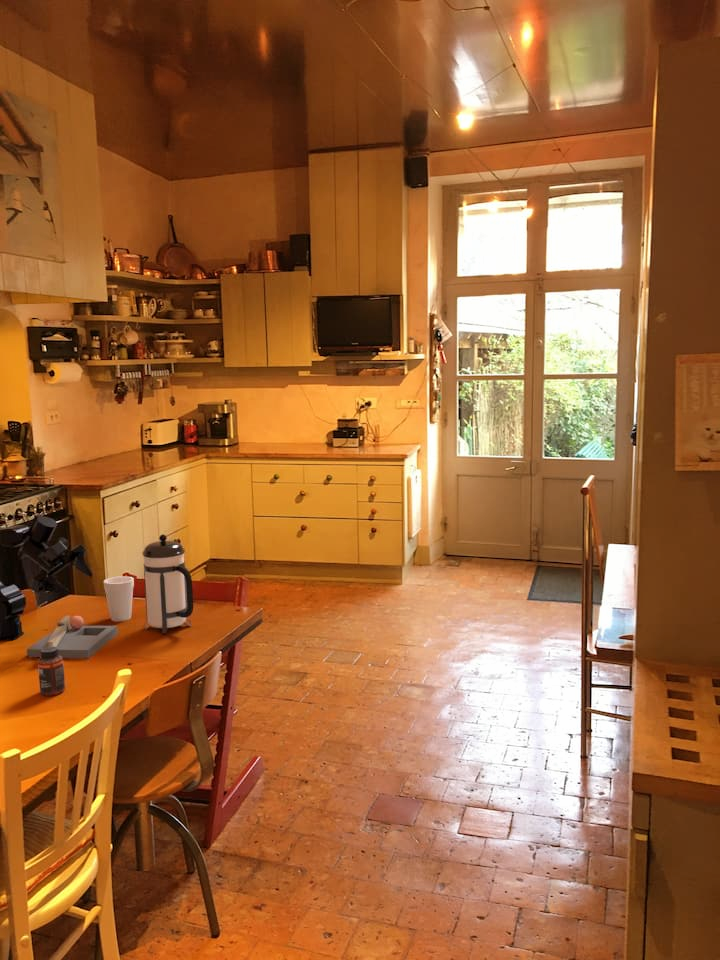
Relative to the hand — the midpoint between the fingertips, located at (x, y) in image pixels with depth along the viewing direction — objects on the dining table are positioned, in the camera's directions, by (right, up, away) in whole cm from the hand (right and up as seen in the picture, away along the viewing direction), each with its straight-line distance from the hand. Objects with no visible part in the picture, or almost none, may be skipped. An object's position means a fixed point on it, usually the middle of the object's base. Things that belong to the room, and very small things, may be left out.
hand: (81, 584), depth 226 cm
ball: (-5, -13, +9) cm, 16 cm away
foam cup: (+4, -15, +27) cm, 31 cm away
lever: (-6, -16, -1) cm, 17 cm away
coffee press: (+23, -16, +16) cm, 32 cm away
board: (-3, -18, +2) cm, 19 cm away
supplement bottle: (+5, -23, -32) cm, 40 cm away
